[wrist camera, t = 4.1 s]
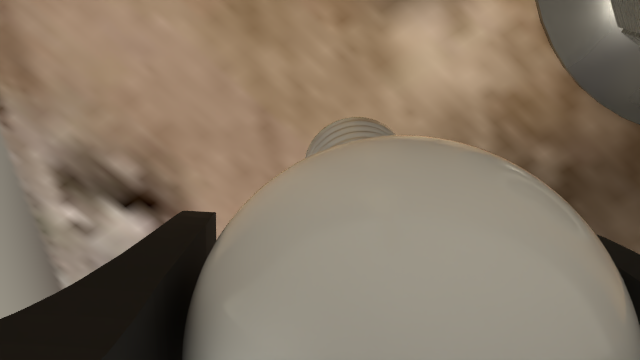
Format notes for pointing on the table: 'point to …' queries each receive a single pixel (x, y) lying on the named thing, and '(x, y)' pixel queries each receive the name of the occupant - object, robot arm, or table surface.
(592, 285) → the lightbulb
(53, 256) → the table surface
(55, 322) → the robot arm
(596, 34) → the lamp base
